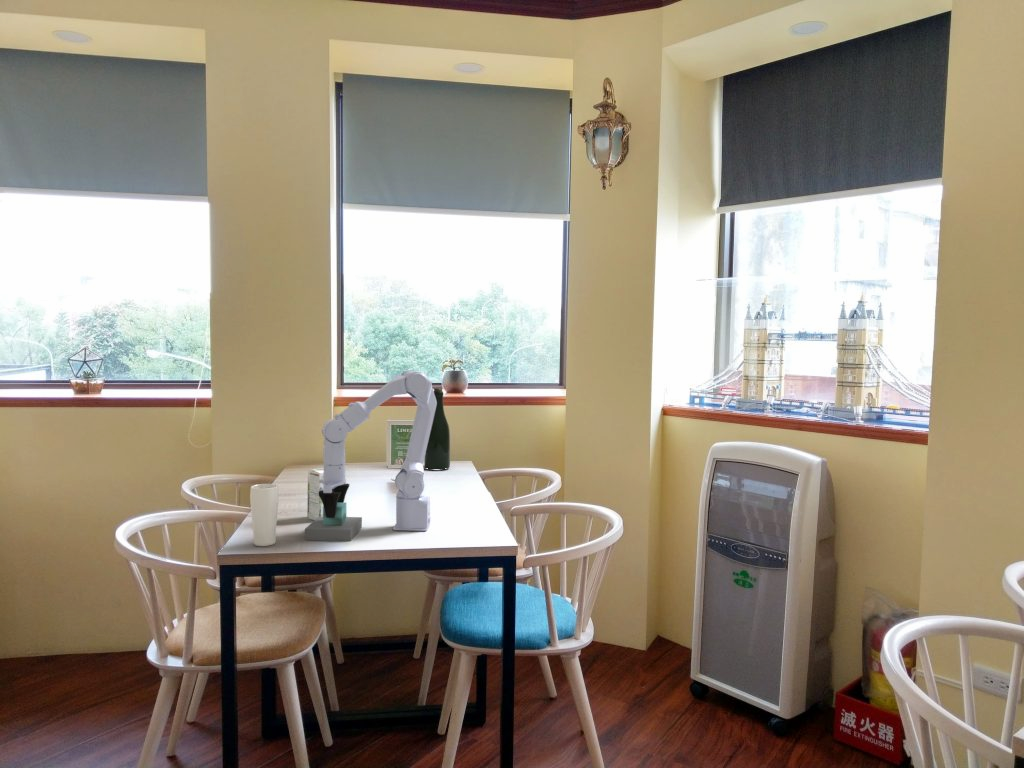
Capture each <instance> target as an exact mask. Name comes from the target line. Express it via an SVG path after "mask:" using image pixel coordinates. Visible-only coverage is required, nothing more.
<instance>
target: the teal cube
mask: <svg viewBox="0 0 1024 768" xmlns="http://www.w3.org/2000/svg"><path fill="white" fill-rule="evenodd" d="M346 517H347V502H344V503H339V502H337V508H336V514H335V517H334V518H327V517H326V514H325V510H324V506H323V525H343V524H344V523H345V522H346Z"/></svg>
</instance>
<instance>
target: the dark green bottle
mask: <svg viewBox="0 0 1024 768" xmlns="http://www.w3.org/2000/svg"><path fill="white" fill-rule="evenodd" d="M433 392H434V395H435V398H436V401H437V405H436V410H435V414H434V418H433V423H432V427H431V431H430V436H429V440H428V444H427V449H426V453H425V458H424V462H423V468H424V469H425V468H428V469H445V468H449V467H450V468H451V434H450V433H451V431H450V425H449V423H448V419H447V417H446V416H447V415H446V414H445V408H444V391H443V388H441V387H436V388H433ZM450 468H449V469H450Z"/></svg>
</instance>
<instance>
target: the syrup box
mask: <svg viewBox="0 0 1024 768" xmlns="http://www.w3.org/2000/svg"><path fill="white" fill-rule="evenodd" d="M321 479H324V467H321V468H314V469H309V470H307V519H309V520H312V521H314V520H316V519H317V518H318V517H319V516H323V506H324V505H323V502H322V500H321V498H320V497H319V491H323V486H324V485H323V483H319V480H321Z"/></svg>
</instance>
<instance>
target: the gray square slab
mask: <svg viewBox="0 0 1024 768" xmlns="http://www.w3.org/2000/svg"><path fill="white" fill-rule="evenodd" d="M362 528H363V517H362V516H361V517H359V516H346V522H345V523H344V524H343V525H323V516H319V517H318V518H317V519H316V520H312V521H311V523H310V524H309V525H308V526H306V527H305V528H304V540H305V541H330V542H331V541H333V542H336V541H340V542H343V541H344V542H351V541H352V540H353V539H354V537H355V536H356V535H357V534H358V533H359V532H360V531H361V530H362Z"/></svg>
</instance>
